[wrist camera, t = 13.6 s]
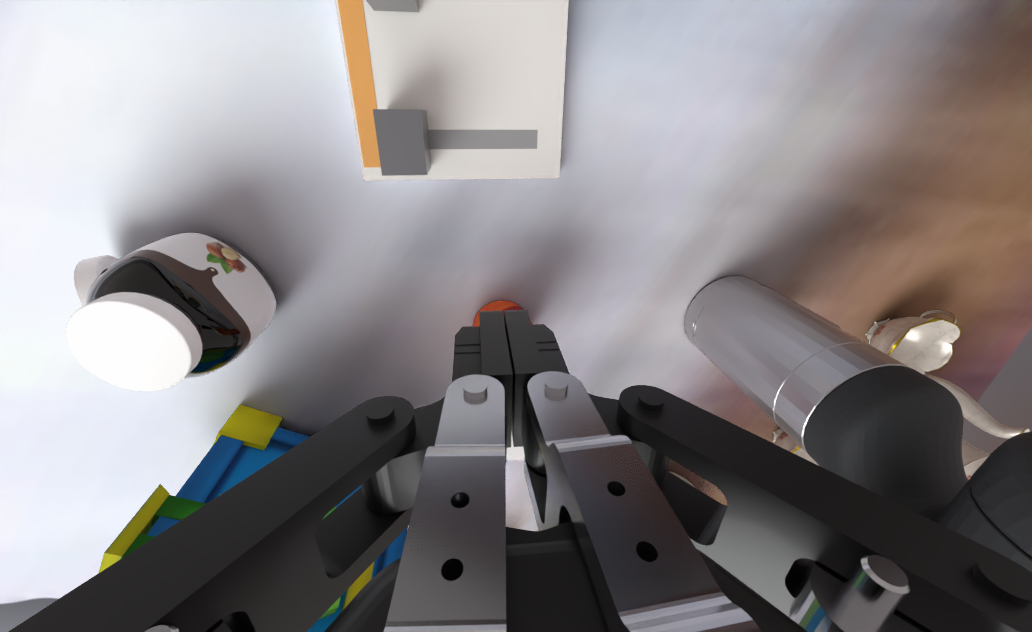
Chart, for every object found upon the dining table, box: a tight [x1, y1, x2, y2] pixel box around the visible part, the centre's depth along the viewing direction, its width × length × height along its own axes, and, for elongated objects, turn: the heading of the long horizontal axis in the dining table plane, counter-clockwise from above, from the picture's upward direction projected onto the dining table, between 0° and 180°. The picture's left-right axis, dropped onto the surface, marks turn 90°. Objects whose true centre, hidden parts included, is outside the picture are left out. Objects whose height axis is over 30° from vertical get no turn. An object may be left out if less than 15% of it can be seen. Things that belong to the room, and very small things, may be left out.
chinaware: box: [773, 310, 1030, 480], centre depth 46 cm, size 28×17×17 cm, turn 160°
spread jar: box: [66, 233, 276, 391], centre depth 30 cm, size 12×11×12 cm
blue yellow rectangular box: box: [99, 405, 408, 632], centre depth 33 cm, size 14×23×30 cm, turn 59°
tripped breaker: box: [373, 109, 431, 176], centre depth 28 cm, size 3×4×5 cm
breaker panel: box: [335, 0, 569, 181], centre depth 30 cm, size 16×16×2 cm
